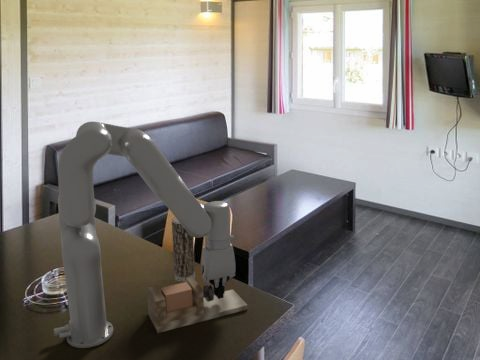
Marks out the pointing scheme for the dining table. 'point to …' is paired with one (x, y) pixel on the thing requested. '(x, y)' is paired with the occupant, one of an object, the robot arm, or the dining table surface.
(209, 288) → the shaft
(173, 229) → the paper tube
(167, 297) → the rectangular block
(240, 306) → the stand
